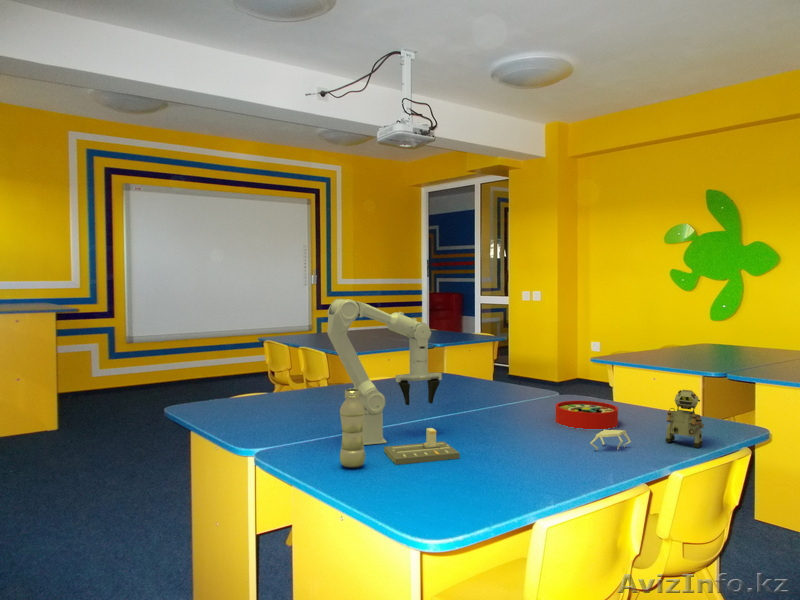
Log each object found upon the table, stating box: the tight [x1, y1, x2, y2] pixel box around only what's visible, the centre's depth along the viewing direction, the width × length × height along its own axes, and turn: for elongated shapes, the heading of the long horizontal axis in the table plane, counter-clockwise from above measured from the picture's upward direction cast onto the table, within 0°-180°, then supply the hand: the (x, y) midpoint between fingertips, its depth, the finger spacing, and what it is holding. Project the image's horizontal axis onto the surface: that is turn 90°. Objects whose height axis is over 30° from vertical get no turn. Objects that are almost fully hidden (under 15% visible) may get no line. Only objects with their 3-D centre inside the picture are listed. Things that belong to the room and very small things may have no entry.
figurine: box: [665, 389, 705, 449], centre depth 168 cm, size 9×12×15 cm
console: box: [383, 440, 461, 466], centre depth 158 cm, size 18×12×2 cm, turn 106°
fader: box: [423, 427, 440, 449], centre depth 159 cm, size 4×3×5 cm
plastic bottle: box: [339, 388, 366, 469], centre depth 149 cm, size 6×7×20 cm
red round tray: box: [555, 400, 619, 429], centre depth 193 cm, size 20×6×20 cm
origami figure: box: [590, 429, 632, 451], centre depth 163 cm, size 12×8×5 cm
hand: (419, 403), depth 179 cm, fingers open, 7 cm apart
